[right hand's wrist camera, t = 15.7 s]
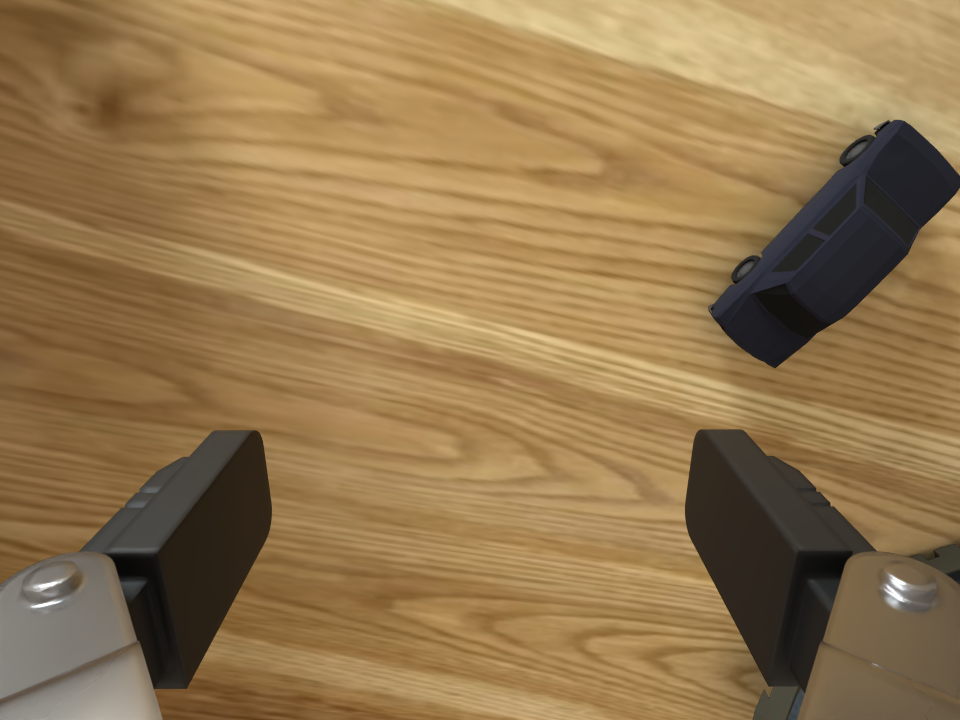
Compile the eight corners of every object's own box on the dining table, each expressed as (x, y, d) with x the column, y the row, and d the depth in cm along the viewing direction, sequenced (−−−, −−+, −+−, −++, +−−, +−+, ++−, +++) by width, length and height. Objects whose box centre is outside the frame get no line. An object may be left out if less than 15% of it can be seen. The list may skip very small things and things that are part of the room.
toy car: (935, 180, 36) (1002, 186, 32) (755, 360, 40) (792, 389, 36) (871, 116, 35) (932, 112, 30) (693, 308, 39) (722, 331, 34)
